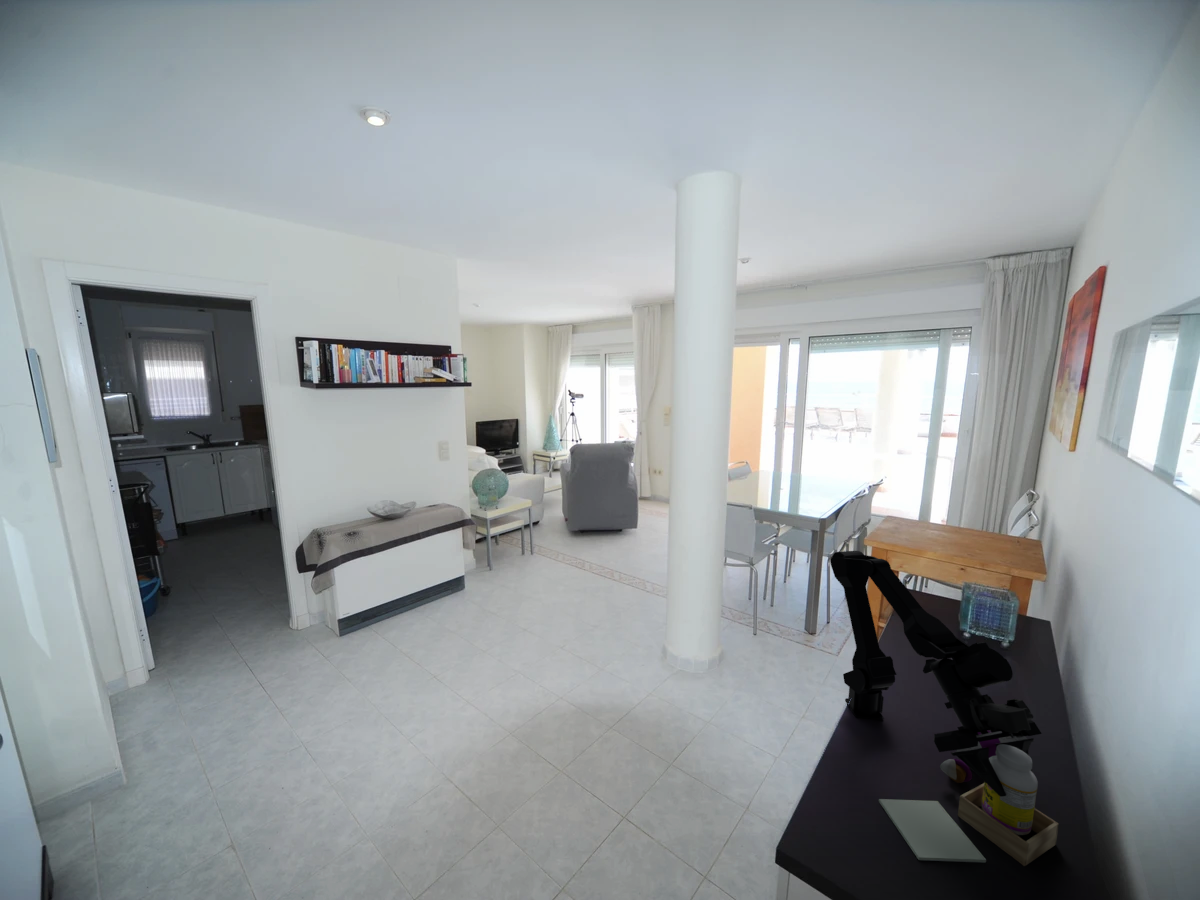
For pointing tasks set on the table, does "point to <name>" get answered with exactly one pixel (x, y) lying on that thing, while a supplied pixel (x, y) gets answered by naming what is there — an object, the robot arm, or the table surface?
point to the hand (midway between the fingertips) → (1018, 792)
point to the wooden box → (1004, 836)
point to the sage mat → (930, 831)
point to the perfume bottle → (959, 769)
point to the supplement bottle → (1012, 790)
